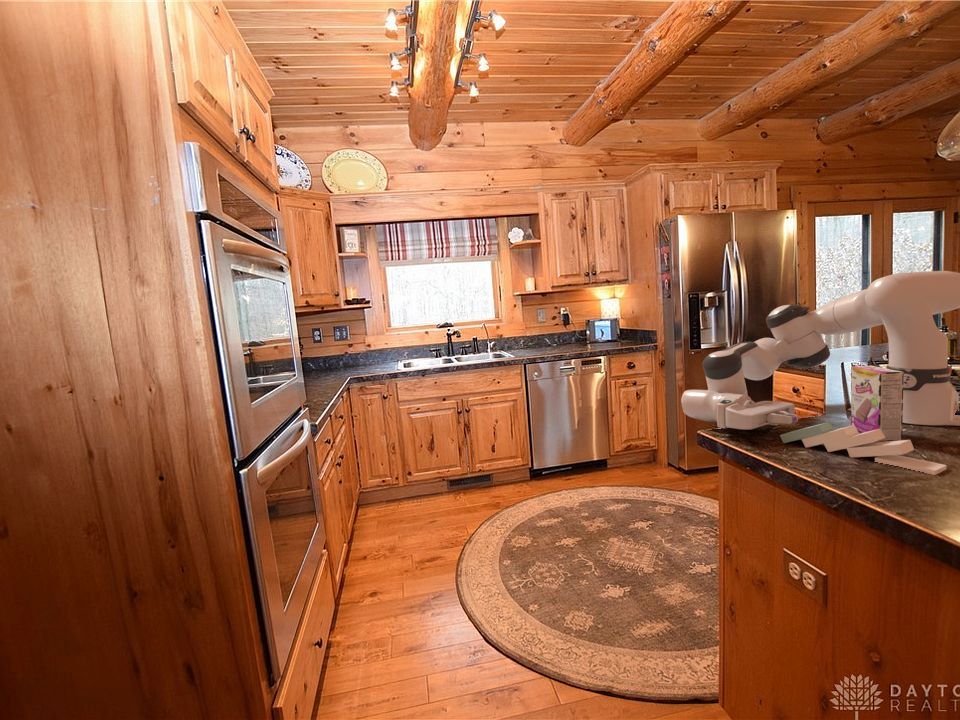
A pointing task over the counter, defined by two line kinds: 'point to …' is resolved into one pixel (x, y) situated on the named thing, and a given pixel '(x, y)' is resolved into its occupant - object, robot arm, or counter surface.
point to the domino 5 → (911, 464)
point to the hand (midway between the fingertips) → (794, 419)
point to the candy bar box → (877, 400)
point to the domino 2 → (831, 436)
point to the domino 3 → (855, 440)
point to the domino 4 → (881, 448)
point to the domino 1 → (807, 432)
